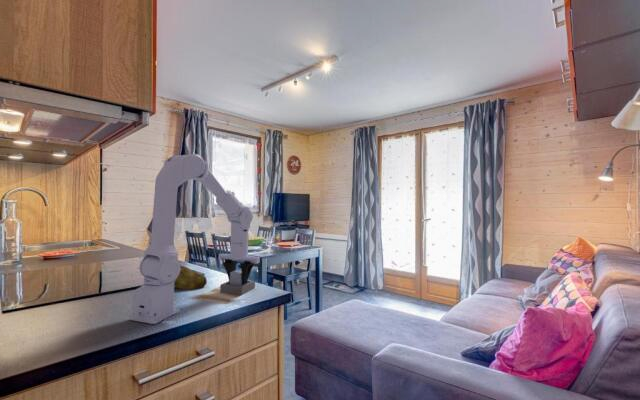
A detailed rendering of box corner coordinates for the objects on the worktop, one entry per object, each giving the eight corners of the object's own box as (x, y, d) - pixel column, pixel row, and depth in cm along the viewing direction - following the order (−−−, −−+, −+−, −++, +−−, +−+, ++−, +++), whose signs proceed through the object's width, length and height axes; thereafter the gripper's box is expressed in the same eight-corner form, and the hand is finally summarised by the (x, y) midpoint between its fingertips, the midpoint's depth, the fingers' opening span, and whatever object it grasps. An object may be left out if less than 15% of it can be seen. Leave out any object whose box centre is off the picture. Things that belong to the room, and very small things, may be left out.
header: (241, 295, 101) (242, 287, 101) (220, 292, 104) (220, 284, 104) (255, 288, 110) (255, 280, 110) (234, 285, 112) (234, 278, 112)
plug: (240, 291, 104) (240, 273, 104) (229, 290, 105) (230, 272, 105) (247, 288, 108) (247, 270, 109) (236, 287, 110) (237, 269, 110)
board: (226, 305, 93) (226, 303, 93) (191, 300, 97) (191, 298, 97) (255, 289, 110) (255, 287, 110) (225, 285, 114) (225, 283, 114)
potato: (196, 294, 103) (196, 269, 103) (160, 291, 105) (160, 267, 105) (209, 287, 111) (209, 264, 111) (175, 284, 113) (176, 262, 113)
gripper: (264, 242, 108) (263, 282, 108) (227, 239, 113) (226, 278, 113) (254, 245, 102) (253, 287, 102) (215, 242, 106) (214, 282, 106)
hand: (238, 283), depth 107 cm, fingers open, 4 cm apart
